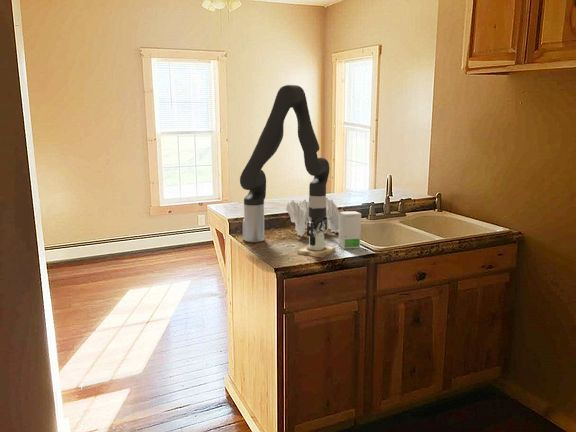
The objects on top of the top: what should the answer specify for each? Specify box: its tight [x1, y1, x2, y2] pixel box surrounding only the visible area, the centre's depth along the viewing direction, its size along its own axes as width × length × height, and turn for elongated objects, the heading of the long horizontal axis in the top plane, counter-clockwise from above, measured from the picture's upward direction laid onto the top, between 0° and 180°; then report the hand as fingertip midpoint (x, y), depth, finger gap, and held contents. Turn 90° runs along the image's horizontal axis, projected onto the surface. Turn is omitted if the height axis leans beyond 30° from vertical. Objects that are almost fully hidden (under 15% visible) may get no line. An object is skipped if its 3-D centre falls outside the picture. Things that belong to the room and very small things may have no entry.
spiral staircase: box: [285, 197, 340, 238], centre depth 245 cm, size 18×18×25 cm
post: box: [296, 243, 336, 259], centre depth 216 cm, size 12×12×6 cm
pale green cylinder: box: [308, 230, 325, 250], centre depth 215 cm, size 6×6×8 cm
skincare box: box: [337, 210, 362, 250], centre depth 223 cm, size 8×7×16 cm
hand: (317, 242), depth 216 cm, fingers open, 8 cm apart
